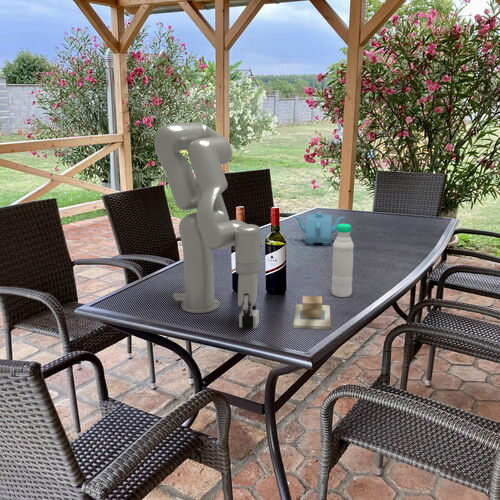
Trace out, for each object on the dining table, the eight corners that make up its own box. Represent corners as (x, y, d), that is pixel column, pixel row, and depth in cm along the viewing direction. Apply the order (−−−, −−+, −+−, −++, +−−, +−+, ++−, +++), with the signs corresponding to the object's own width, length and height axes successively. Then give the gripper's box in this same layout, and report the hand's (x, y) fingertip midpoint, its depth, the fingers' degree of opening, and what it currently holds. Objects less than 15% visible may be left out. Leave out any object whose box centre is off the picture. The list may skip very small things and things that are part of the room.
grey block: (239, 327, 156) (239, 315, 155) (243, 321, 161) (242, 309, 160) (255, 328, 155) (255, 316, 154) (258, 322, 160) (258, 310, 159)
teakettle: (317, 250, 239) (318, 218, 235) (290, 241, 254) (291, 212, 250) (346, 243, 250) (347, 213, 246) (319, 235, 264) (319, 207, 260)
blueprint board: (293, 328, 155) (293, 324, 155) (295, 307, 171) (295, 304, 171) (330, 329, 154) (330, 326, 154) (329, 308, 170) (329, 305, 170)
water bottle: (349, 290, 186) (352, 222, 179) (353, 297, 179) (356, 226, 172) (329, 291, 186) (331, 222, 179) (333, 298, 179) (335, 227, 172)
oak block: (302, 318, 160) (302, 302, 158) (302, 310, 165) (302, 295, 164) (321, 318, 159) (322, 303, 158) (321, 311, 165) (321, 296, 163)
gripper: (239, 258, 162) (241, 311, 167) (231, 275, 146) (232, 334, 150) (263, 258, 161) (264, 312, 166) (257, 276, 145) (258, 335, 149)
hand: (249, 322), depth 158 cm, fingers open, 6 cm apart
